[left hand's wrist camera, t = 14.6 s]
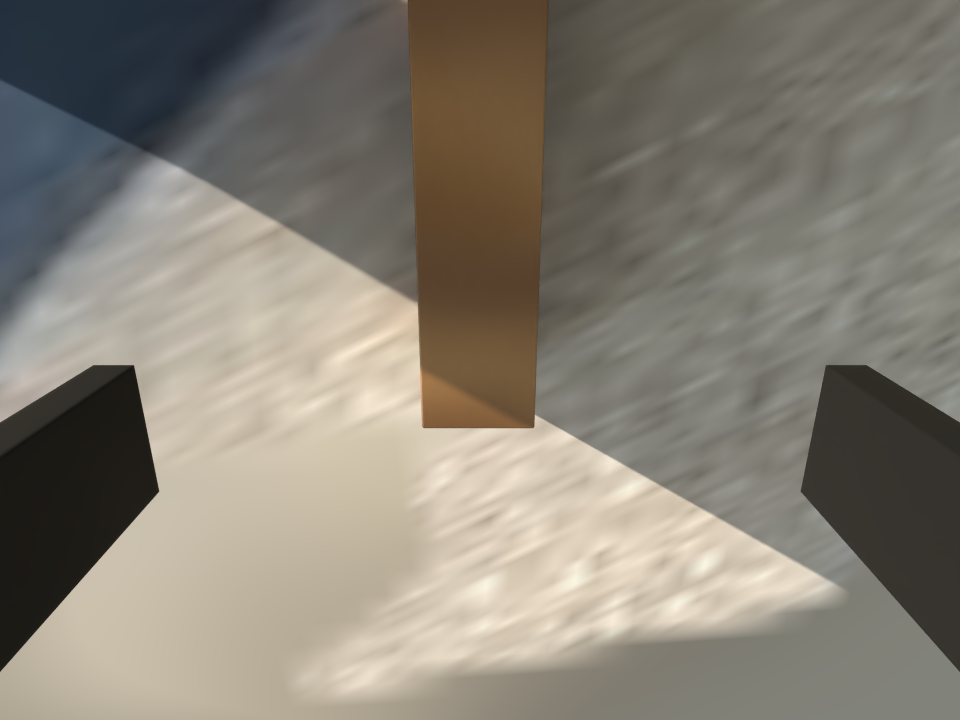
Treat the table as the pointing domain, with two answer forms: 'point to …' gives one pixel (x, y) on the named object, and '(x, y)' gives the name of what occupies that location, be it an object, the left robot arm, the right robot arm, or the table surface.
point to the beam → (478, 205)
